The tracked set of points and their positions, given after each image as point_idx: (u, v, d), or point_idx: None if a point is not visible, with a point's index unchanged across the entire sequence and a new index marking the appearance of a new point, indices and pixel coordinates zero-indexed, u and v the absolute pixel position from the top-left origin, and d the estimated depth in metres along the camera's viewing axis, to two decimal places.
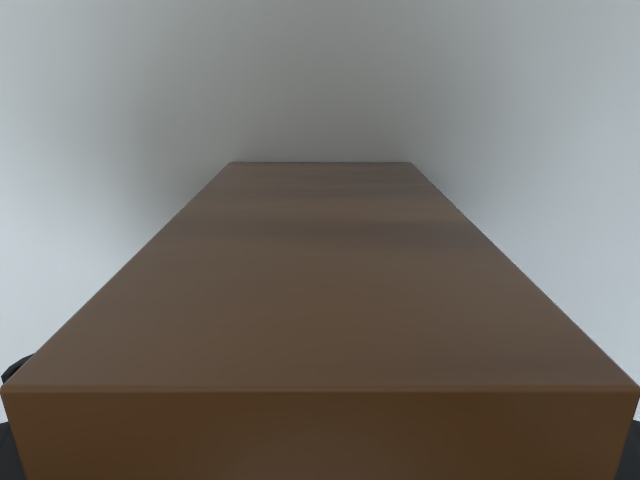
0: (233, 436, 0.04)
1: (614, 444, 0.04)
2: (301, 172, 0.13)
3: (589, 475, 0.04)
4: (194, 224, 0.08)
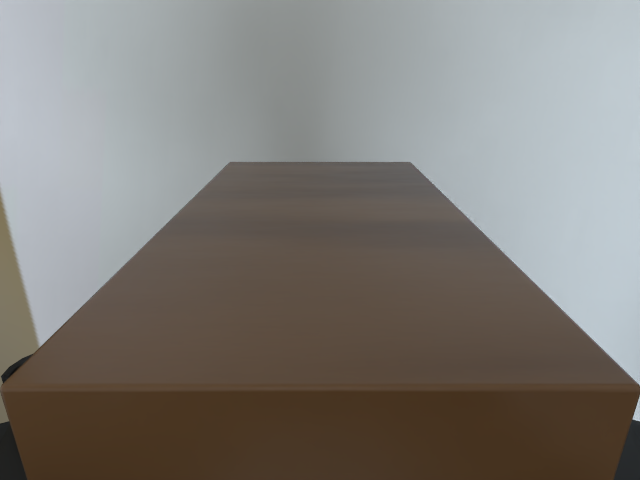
0: (234, 434, 0.04)
1: (615, 443, 0.04)
2: (301, 172, 0.13)
3: (589, 474, 0.04)
4: (194, 224, 0.08)
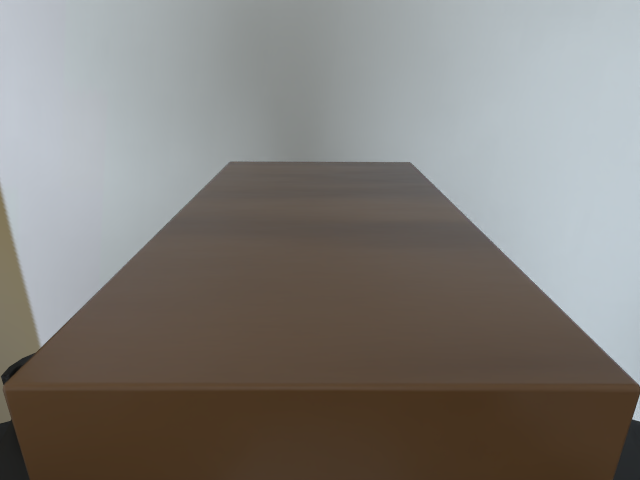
0: (236, 433, 0.04)
1: (615, 443, 0.04)
2: (301, 171, 0.13)
3: (589, 473, 0.04)
4: (195, 223, 0.08)
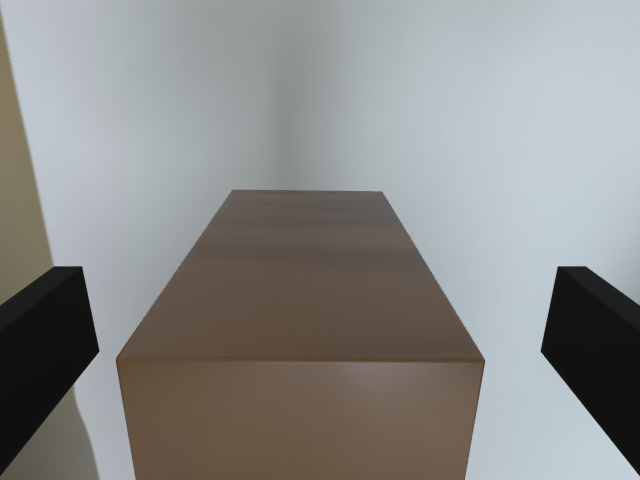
0: (251, 388, 0.07)
1: (473, 393, 0.07)
2: (292, 201, 0.16)
3: (460, 412, 0.07)
4: (212, 249, 0.11)
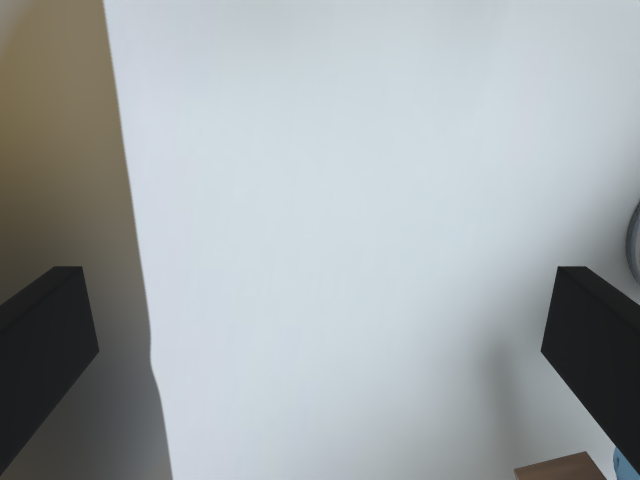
0: None
1: None
2: (552, 478, 0.35)
3: None
4: None
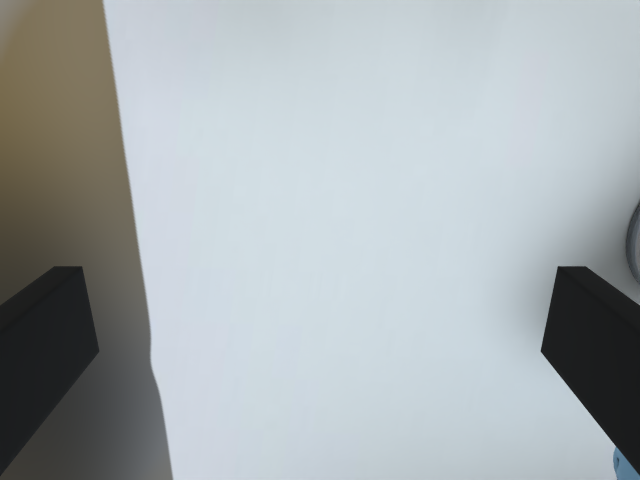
0: None
1: None
2: None
3: None
4: None
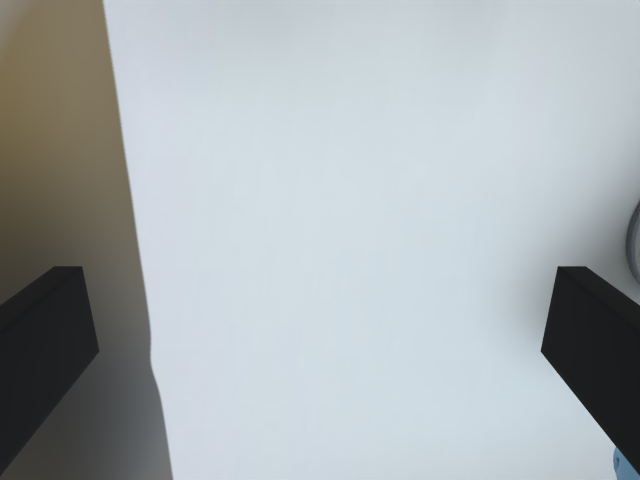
0: None
1: None
2: None
3: None
4: None
